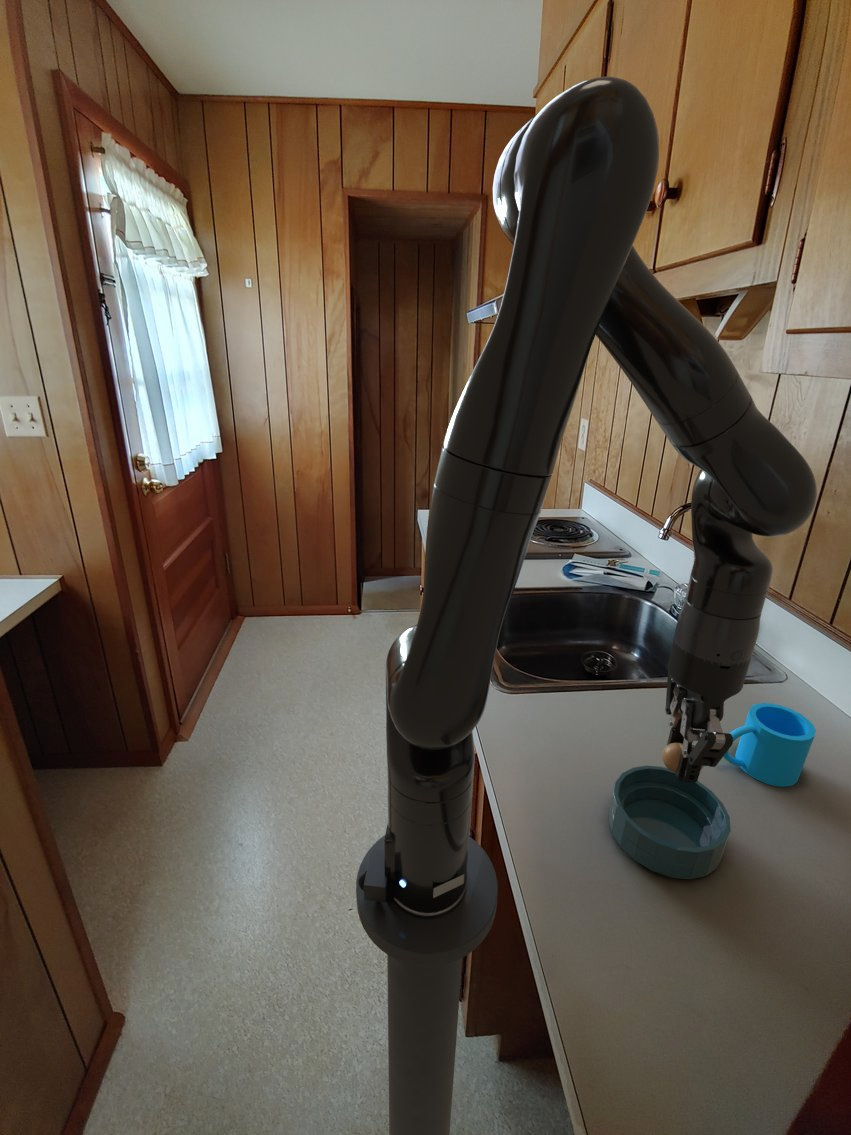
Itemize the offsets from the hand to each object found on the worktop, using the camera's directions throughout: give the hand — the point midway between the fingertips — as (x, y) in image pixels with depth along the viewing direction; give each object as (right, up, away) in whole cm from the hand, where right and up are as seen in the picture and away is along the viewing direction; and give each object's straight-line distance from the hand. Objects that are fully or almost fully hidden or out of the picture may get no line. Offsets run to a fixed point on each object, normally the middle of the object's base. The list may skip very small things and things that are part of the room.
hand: (680, 767), depth 65 cm
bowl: (0, -10, +4) cm, 11 cm away
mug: (+18, -6, +16) cm, 25 cm away
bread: (0, 0, 0) cm, 0 cm away
